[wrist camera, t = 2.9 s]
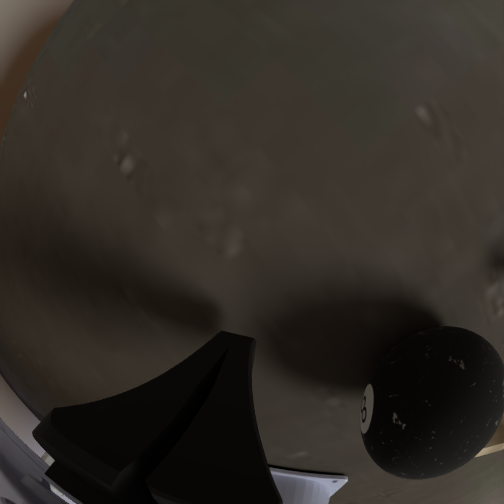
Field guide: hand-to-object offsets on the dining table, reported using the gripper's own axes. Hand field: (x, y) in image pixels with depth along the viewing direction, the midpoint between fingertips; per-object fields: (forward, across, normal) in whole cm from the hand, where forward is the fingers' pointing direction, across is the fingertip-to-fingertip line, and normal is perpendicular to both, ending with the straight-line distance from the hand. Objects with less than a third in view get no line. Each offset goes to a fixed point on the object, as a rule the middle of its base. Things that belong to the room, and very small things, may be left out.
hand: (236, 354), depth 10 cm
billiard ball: (+2, -8, 0) cm, 8 cm away
